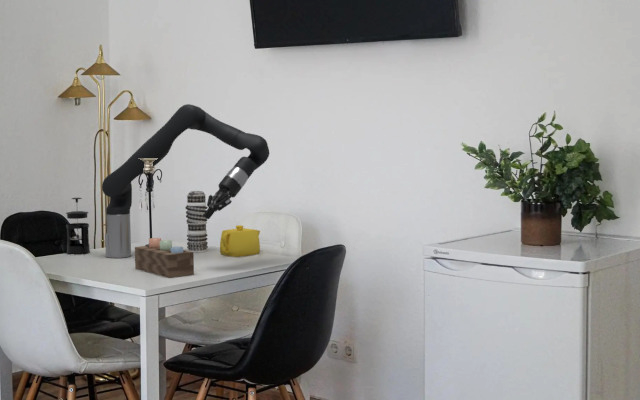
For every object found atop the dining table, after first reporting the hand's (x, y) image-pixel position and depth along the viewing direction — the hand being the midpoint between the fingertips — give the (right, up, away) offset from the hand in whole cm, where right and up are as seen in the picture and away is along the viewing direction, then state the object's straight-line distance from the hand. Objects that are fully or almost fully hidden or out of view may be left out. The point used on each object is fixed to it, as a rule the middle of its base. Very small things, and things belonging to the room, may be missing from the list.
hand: (205, 217), depth 308 cm
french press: (-59, -16, +46) cm, 76 cm away
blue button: (-9, -16, -6) cm, 20 cm away
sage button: (-14, -14, 0) cm, 20 cm away
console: (-15, -20, 0) cm, 25 cm away
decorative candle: (-10, -15, +49) cm, 52 cm away
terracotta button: (-19, -14, +6) cm, 25 cm away
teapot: (+9, -16, +41) cm, 44 cm away
